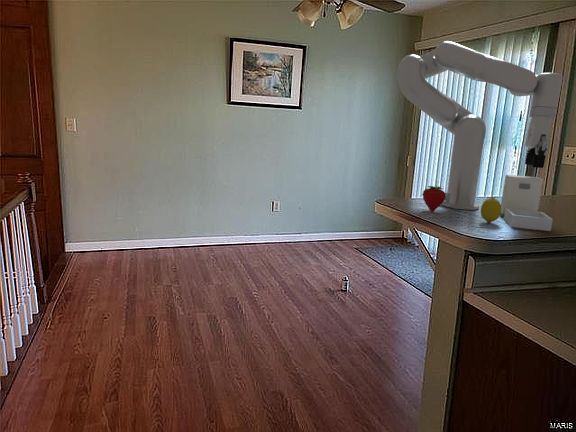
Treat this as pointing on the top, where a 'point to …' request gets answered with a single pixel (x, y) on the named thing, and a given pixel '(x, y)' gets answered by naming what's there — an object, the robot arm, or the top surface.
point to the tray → (528, 219)
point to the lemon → (491, 209)
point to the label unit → (521, 193)
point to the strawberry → (433, 197)
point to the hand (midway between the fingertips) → (533, 166)
